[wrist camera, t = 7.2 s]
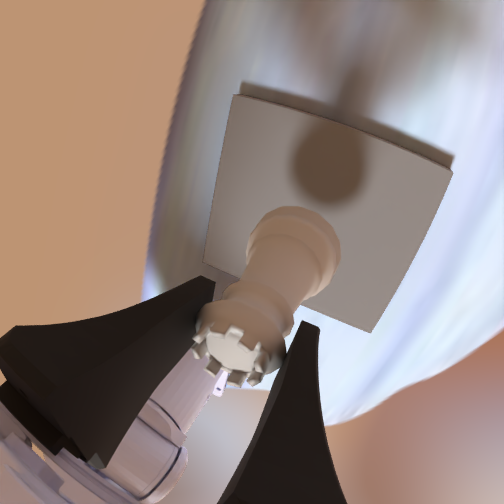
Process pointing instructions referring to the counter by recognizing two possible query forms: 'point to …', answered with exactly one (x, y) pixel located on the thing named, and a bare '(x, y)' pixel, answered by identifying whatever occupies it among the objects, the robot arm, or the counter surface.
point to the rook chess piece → (267, 295)
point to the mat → (325, 200)
